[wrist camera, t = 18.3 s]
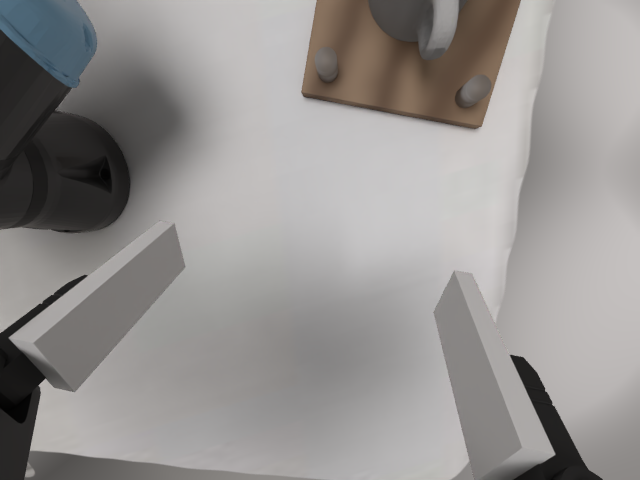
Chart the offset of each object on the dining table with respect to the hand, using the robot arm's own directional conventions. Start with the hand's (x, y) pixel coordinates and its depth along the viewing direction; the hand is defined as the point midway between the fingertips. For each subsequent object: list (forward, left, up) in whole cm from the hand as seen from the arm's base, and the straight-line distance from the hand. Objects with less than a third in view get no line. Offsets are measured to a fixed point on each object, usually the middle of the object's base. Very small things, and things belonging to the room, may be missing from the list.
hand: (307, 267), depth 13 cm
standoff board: (-10, +21, -22) cm, 32 cm away
